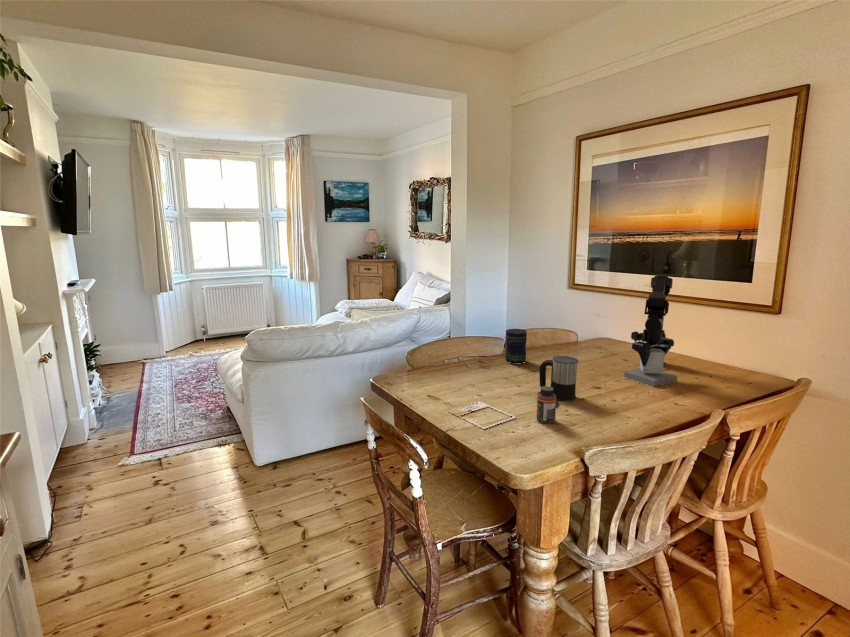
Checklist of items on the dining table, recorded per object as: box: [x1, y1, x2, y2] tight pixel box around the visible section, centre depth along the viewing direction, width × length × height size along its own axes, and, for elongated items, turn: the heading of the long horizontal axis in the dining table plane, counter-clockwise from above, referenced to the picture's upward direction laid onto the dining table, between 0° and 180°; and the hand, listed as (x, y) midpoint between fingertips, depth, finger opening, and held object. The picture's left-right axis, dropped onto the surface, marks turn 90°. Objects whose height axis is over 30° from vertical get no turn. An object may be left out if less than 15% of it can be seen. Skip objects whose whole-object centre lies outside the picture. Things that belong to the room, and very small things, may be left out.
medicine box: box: [639, 349, 666, 372], centre depth 186 cm, size 8×4×9 cm, turn 82°
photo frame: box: [459, 400, 517, 430], centre depth 154 cm, size 15×1×18 cm
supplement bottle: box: [536, 385, 557, 425], centre depth 148 cm, size 6×6×11 cm
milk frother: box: [537, 355, 579, 405], centre depth 166 cm, size 14×16×15 cm
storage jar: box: [504, 328, 528, 363], centre depth 214 cm, size 10×10×15 cm
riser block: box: [623, 367, 678, 388], centre depth 188 cm, size 14×14×3 cm
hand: (651, 364), depth 187 cm, fingers closed on medicine box, 9 cm apart
